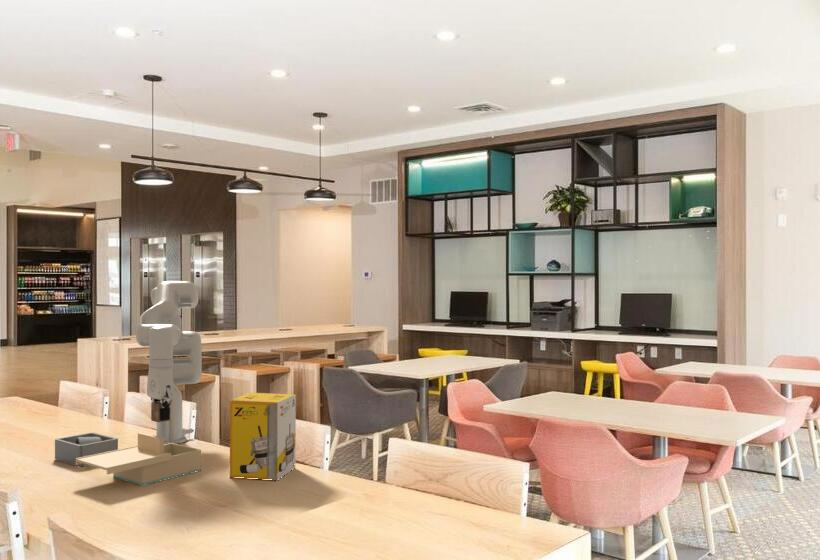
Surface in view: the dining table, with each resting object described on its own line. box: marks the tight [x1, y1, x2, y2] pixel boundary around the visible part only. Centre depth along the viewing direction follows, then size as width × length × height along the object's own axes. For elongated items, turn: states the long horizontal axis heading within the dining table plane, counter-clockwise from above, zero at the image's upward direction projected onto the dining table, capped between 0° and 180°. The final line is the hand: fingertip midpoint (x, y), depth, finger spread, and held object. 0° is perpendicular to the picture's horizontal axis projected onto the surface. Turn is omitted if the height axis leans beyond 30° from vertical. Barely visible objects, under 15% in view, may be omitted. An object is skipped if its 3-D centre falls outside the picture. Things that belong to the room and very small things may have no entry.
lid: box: [76, 432, 171, 475], centre depth 239 cm, size 22×18×7 cm
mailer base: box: [112, 443, 202, 486], centre depth 249 cm, size 22×16×7 cm
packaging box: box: [229, 392, 297, 480], centre depth 250 cm, size 16×16×25 cm
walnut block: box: [150, 401, 170, 423], centre depth 252 cm, size 4×4×6 cm
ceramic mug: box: [75, 437, 102, 445], centre depth 270 cm, size 11×8×8 cm
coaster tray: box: [54, 432, 119, 467], centre depth 267 cm, size 14×16×7 cm
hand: (160, 418), depth 252 cm, fingers closed on walnut block, 4 cm apart
